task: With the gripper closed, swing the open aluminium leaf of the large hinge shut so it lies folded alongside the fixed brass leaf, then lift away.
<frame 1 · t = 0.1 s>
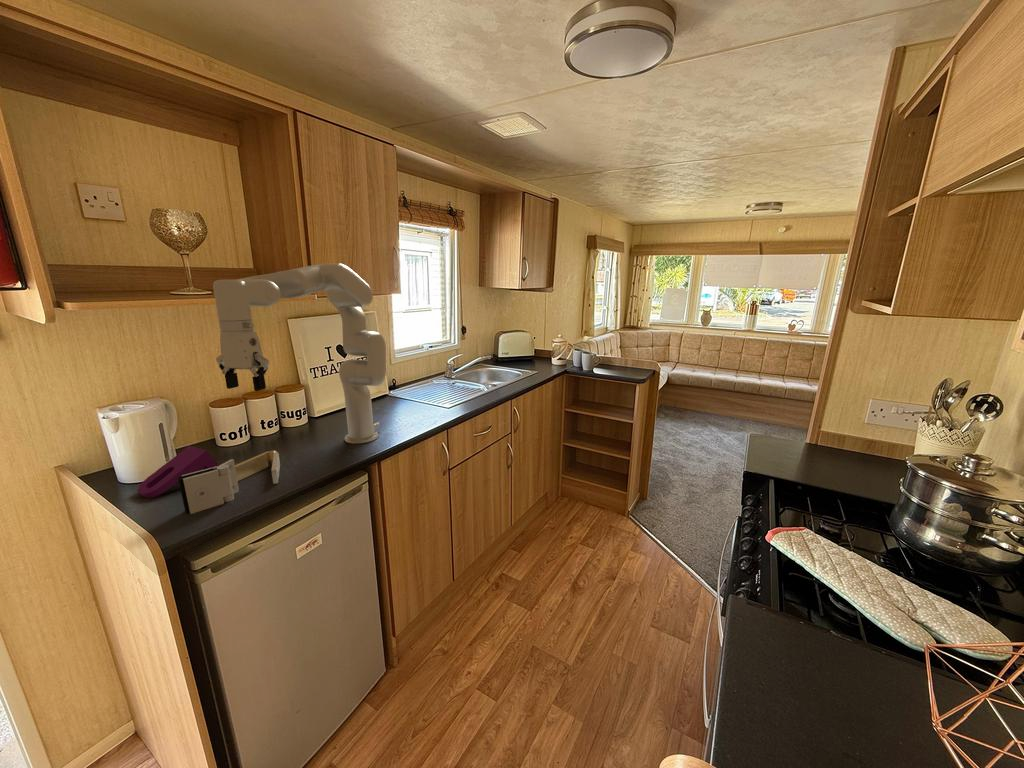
hand: (246, 388, 114), 31 cm above the counter, tool pointing down, fingers open, 9 cm apart
hinge: (215, 502, 115), on the counter
fixed leaf: (274, 464, 138), on the counter
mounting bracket: (178, 486, 125), on the counter
open leaf: (276, 467, 130), point 3 cm above the counter, hinge at 45.0°
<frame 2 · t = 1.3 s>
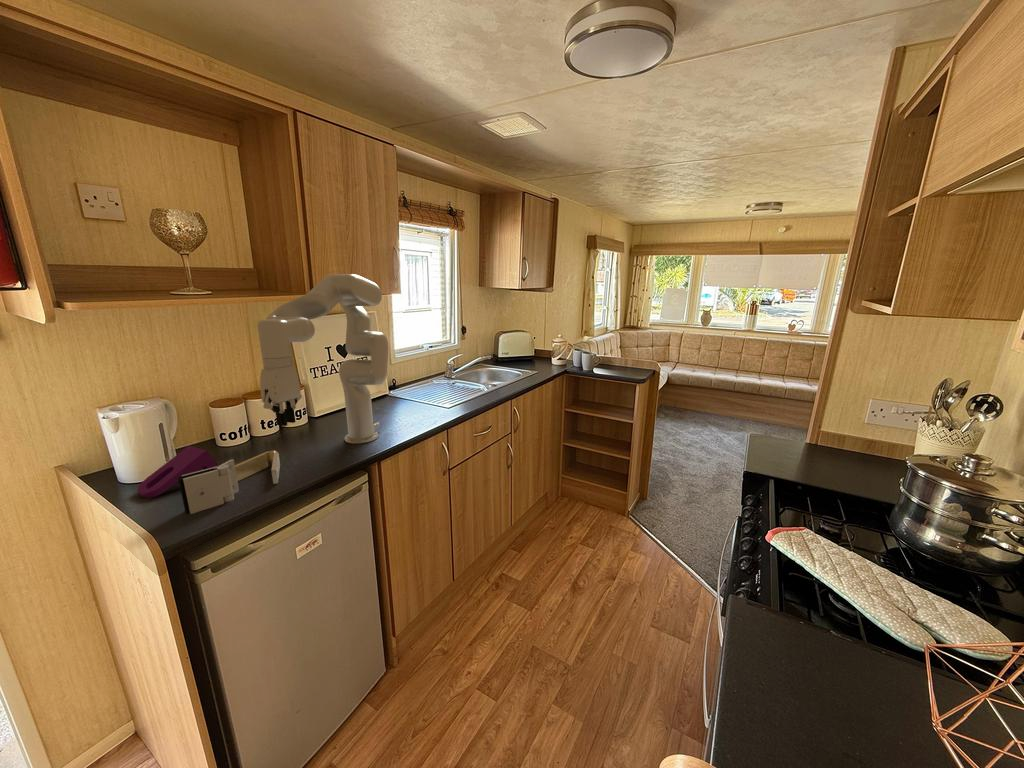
hand: (286, 423, 121), 19 cm above the counter, tool pointing down, fingers closed
nothing on the counter moved.
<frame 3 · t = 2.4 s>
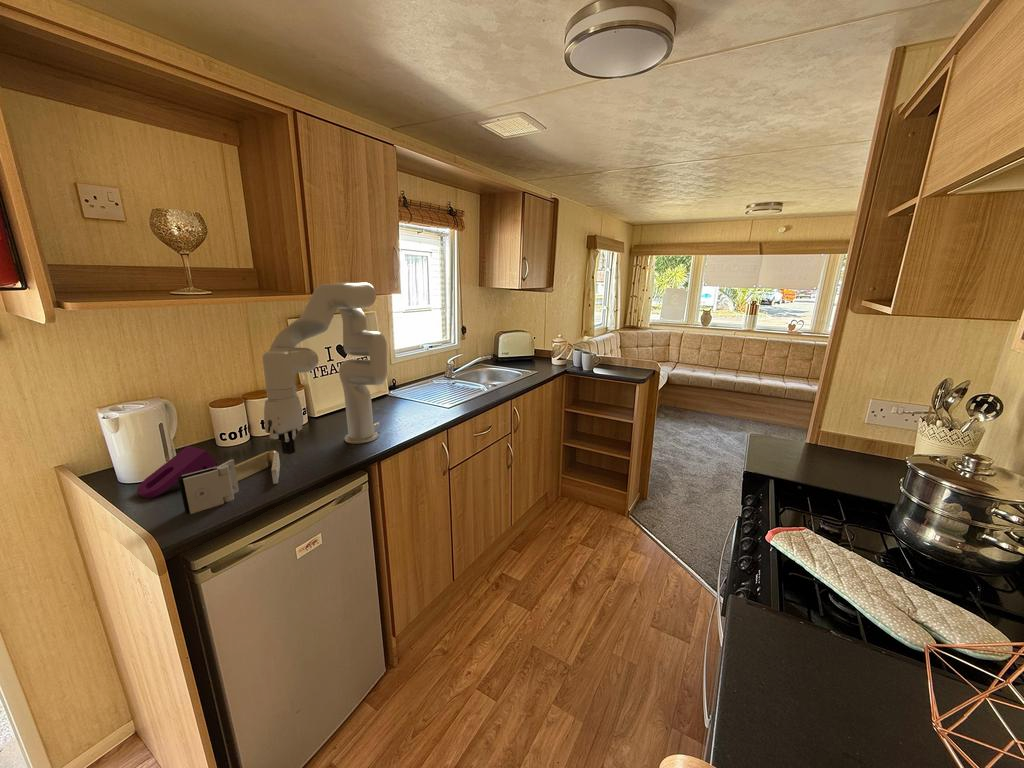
hand: (289, 452, 123), 10 cm above the counter, tool pointing down, fingers closed
nothing on the counter moved.
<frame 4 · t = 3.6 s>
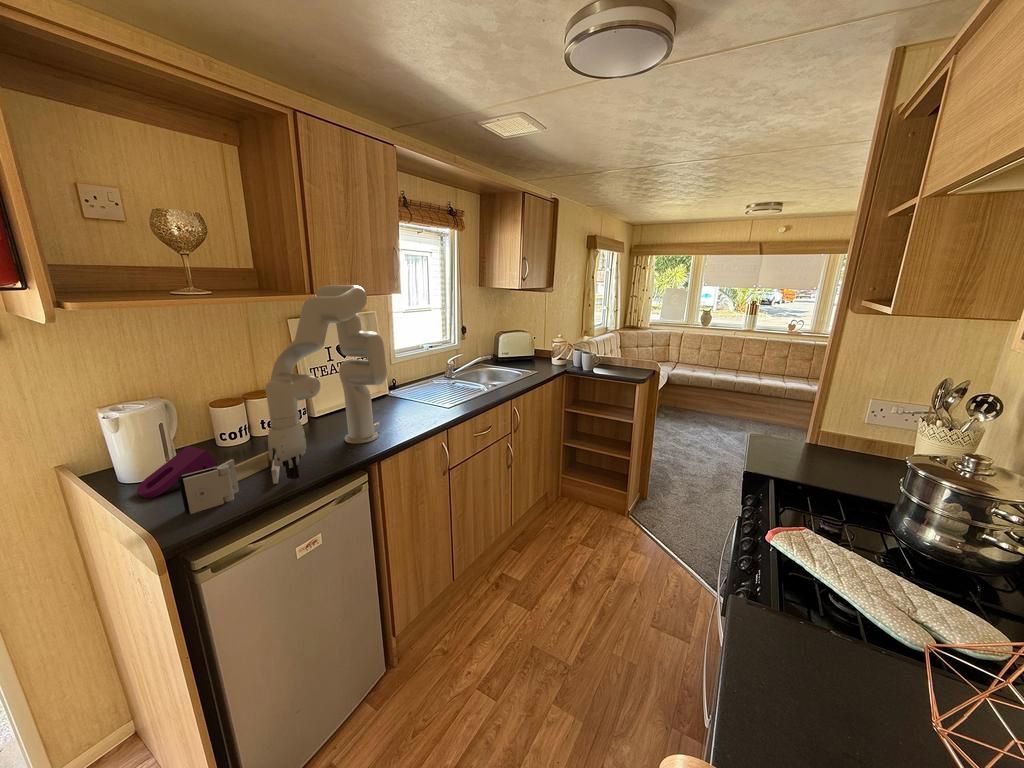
hand: (293, 477, 125), 1 cm above the counter, tool pointing down, fingers closed
nothing on the counter moved.
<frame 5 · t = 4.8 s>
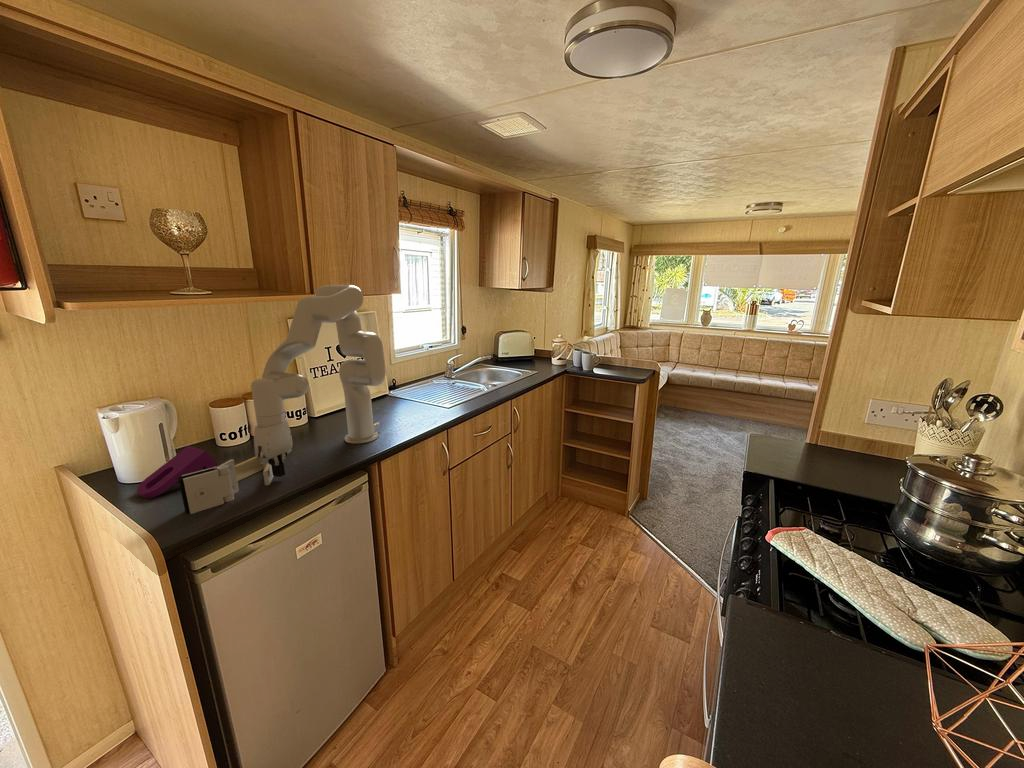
hand: (279, 475, 127), 2 cm above the counter, tool pointing down, fingers closed
open leaf: (271, 468, 130), point 3 cm above the counter, hinge at 37.3°
everything else where it was.
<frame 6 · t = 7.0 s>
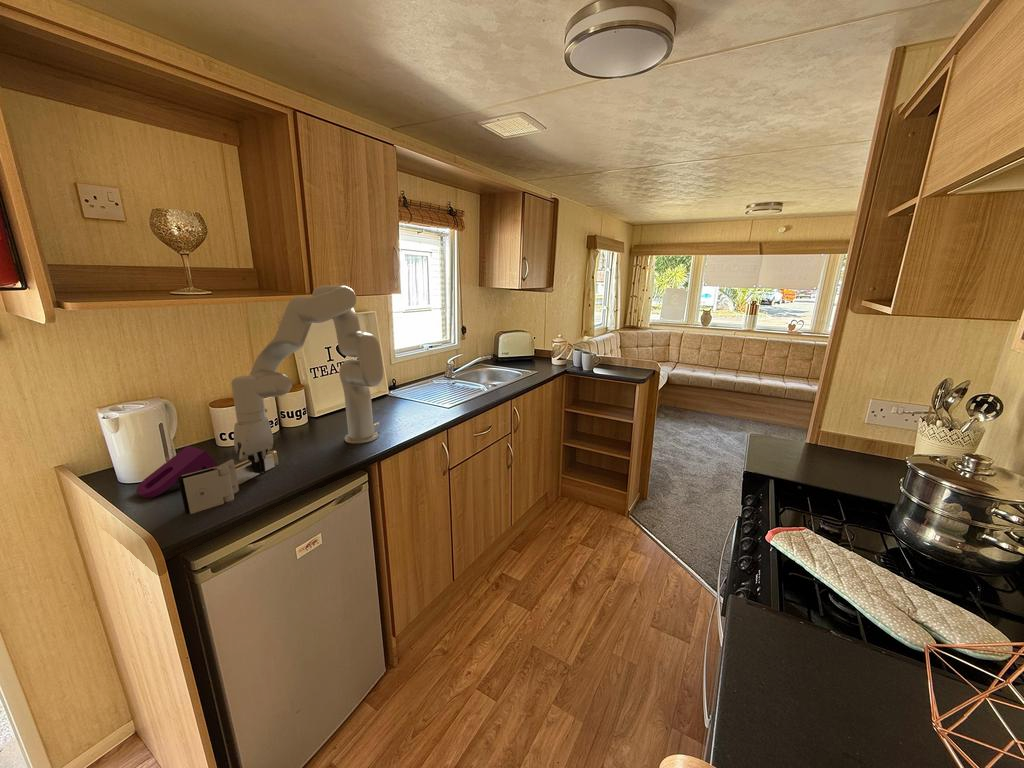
hand: (259, 471, 129), 2 cm above the counter, tool pointing down, fingers closed
open leaf: (252, 469, 129), point 3 cm above the counter, hinge at 1.8°, touching gripper
everything else where it was.
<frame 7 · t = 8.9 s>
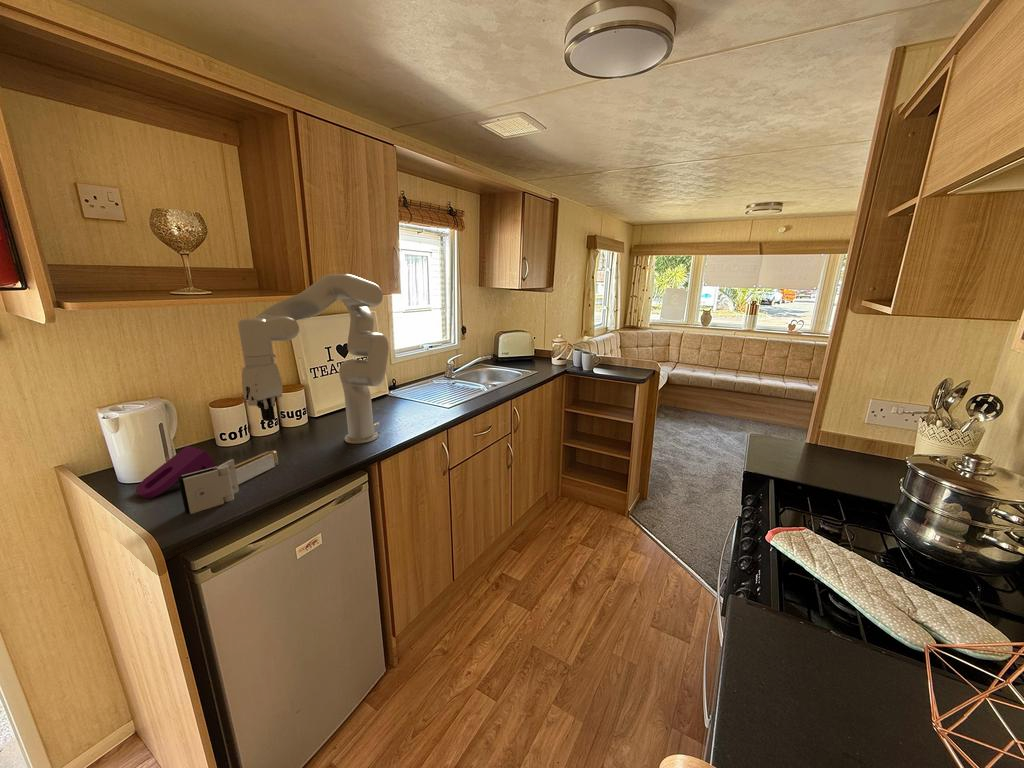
hand: (269, 419, 124), 19 cm above the counter, tool pointing down, fingers closed
open leaf: (252, 469, 129), point 3 cm above the counter, hinge at 1.7°
everything else where it was.
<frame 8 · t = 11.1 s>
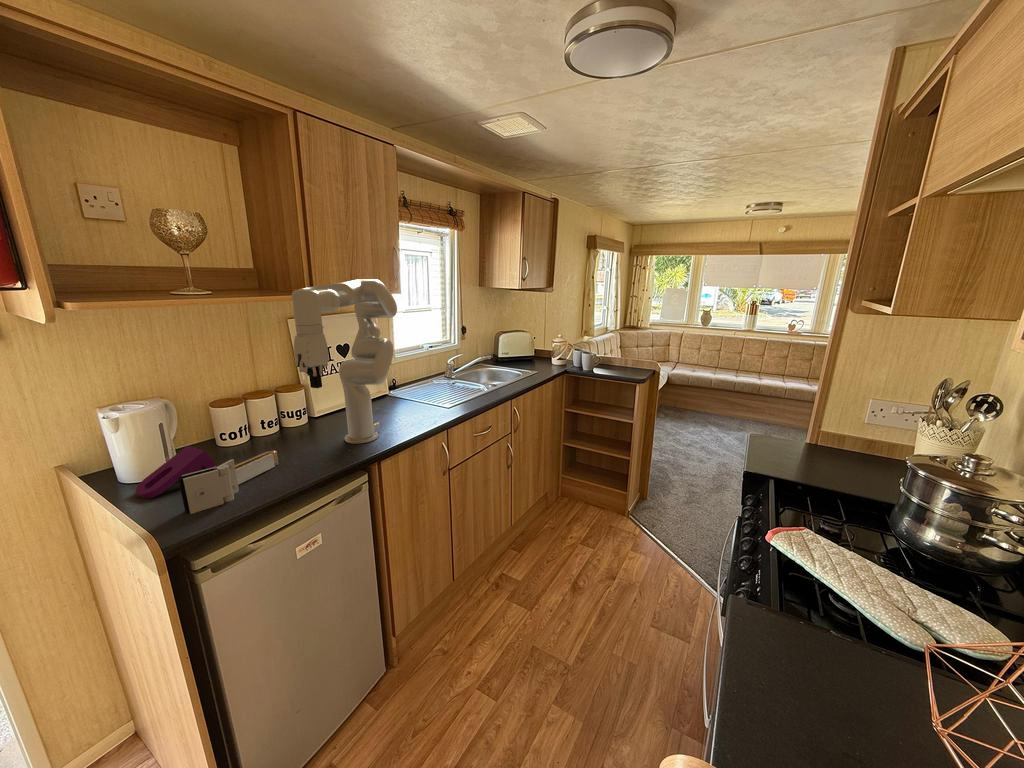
hand: (316, 387, 131), 27 cm above the counter, tool pointing down, fingers closed
nothing on the counter moved.
at the end: open leaf at +2° (first picture: +45°) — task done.
